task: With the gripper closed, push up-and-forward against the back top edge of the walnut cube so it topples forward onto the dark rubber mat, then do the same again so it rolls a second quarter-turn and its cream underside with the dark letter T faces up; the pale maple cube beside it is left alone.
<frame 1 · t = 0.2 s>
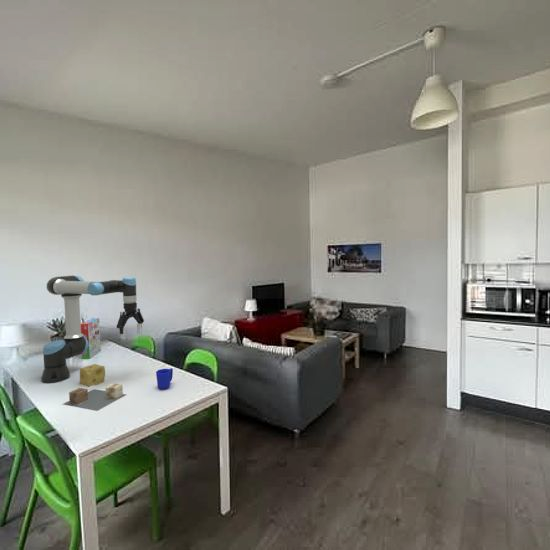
hand: (131, 336, 203), 28 cm above the table, fingers open, 13 cm apart
maple block: (114, 396, 180), resting on rubber mat
walnut block: (78, 401, 174), resting on rubber mat
cheese: (92, 383, 201), on the table
mug: (166, 386, 195), on the table
game box: (91, 355, 257), on the table
rubber mat: (95, 399, 177), on the table
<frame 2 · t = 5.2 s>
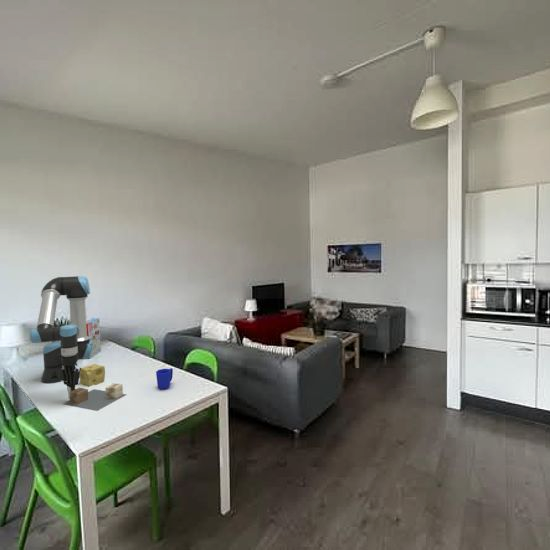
hand: (71, 397, 176), 2 cm above the table, fingers closed
walnut block: (78, 401, 174), point 1 cm above the table, touching gripper, rubber mat
everything else where it was.
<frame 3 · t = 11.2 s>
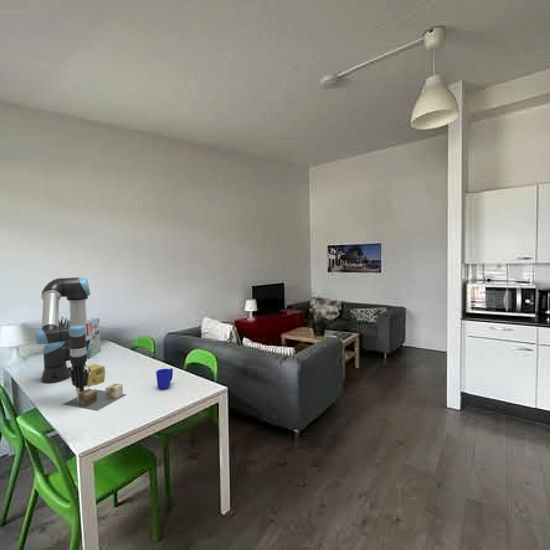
hand: (80, 398, 174), 2 cm above the table, fingers closed
walnut block: (83, 396, 173), point 4 cm above the table, tilted 95°, touching rubber mat
everything else where it was.
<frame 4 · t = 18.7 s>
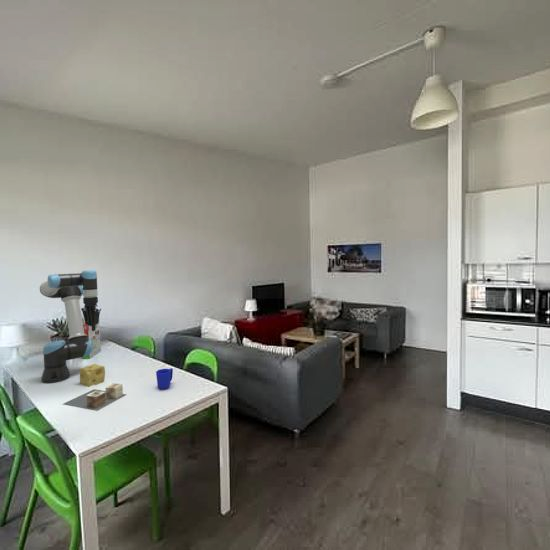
hand: (92, 336, 193), 30 cm above the table, fingers closed
walnut block: (95, 393, 170), point 6 cm above the table, tilted 180°, touching rubber mat
everything else where it was.
at the end: walnut block tilted 180°; walnut block inside the target area (0.5 cm from its centre), point 6.4 cm above the table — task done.
